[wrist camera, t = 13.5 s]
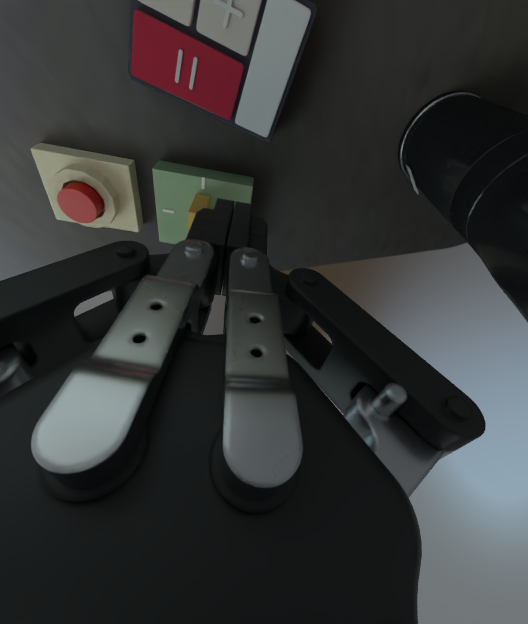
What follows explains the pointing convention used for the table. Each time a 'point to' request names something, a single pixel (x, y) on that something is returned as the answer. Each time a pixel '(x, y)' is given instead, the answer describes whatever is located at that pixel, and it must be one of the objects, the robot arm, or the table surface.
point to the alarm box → (92, 183)
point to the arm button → (80, 202)
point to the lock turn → (197, 206)
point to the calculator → (221, 55)
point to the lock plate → (191, 194)
